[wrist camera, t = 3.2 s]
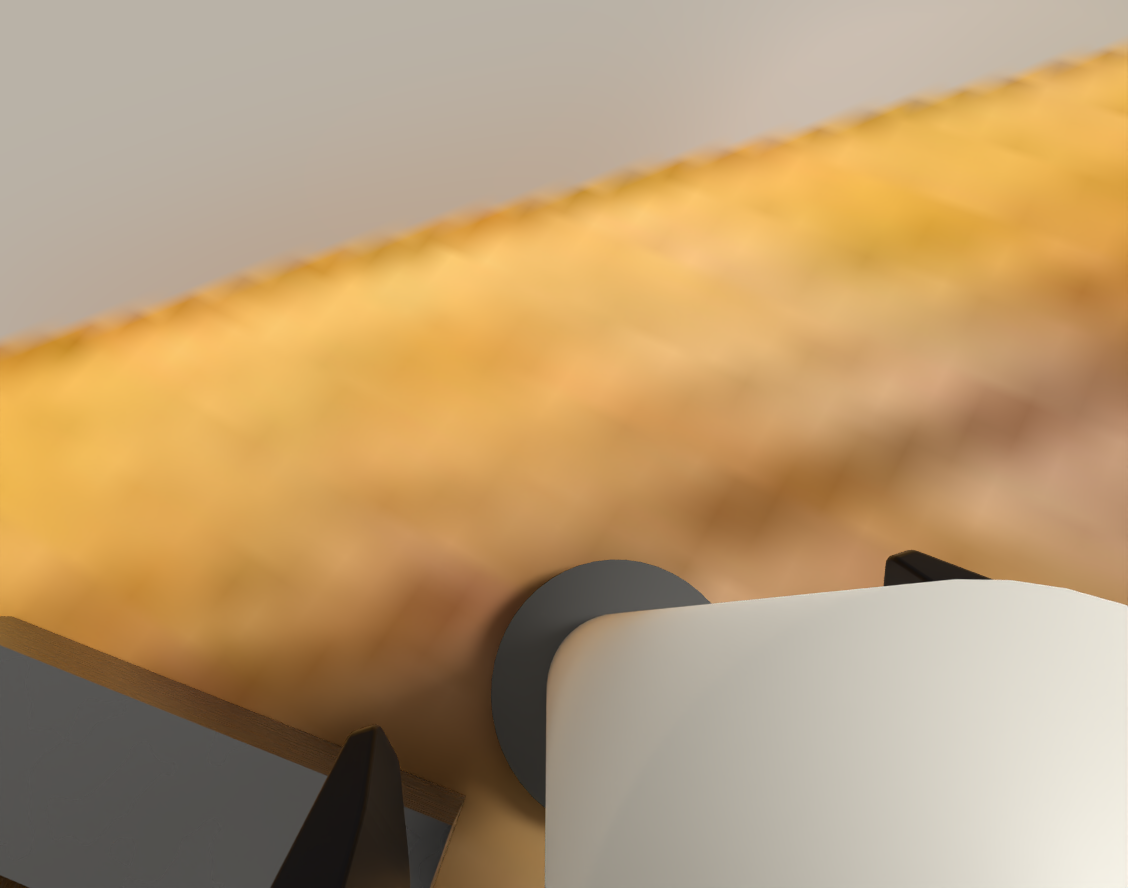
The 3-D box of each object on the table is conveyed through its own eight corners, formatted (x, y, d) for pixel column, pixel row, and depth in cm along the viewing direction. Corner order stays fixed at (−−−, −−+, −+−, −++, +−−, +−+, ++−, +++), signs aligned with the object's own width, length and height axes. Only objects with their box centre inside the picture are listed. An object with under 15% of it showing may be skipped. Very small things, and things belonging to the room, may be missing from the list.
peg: (668, 793, 16) (1752, 2343, 2) (525, 738, 16) (360, 1641, 2) (709, 642, 17) (1580, 762, 3) (574, 593, 17) (708, 462, 3)
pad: (700, 866, 16) (707, 878, 16) (455, 770, 17) (451, 777, 16) (764, 609, 18) (774, 608, 17) (543, 529, 19) (543, 525, 18)
